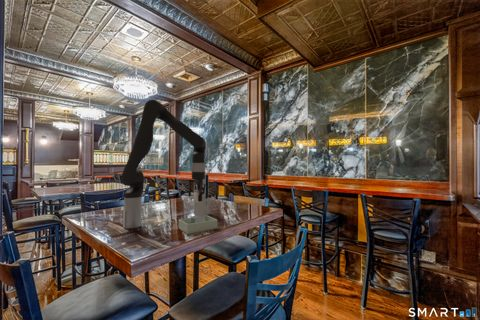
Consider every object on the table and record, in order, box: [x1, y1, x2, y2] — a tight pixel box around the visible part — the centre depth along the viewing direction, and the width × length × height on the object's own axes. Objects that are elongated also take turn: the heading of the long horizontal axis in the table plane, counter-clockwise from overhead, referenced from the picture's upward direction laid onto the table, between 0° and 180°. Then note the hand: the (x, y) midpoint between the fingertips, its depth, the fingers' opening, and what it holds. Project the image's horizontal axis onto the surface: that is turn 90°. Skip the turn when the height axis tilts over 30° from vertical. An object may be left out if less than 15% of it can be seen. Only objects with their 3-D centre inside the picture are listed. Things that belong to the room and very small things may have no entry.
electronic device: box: [193, 173, 210, 216], centre depth 157 cm, size 12×8×30 cm, turn 168°
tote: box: [178, 215, 219, 235], centre depth 124 cm, size 18×13×5 cm
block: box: [190, 215, 205, 224], centre depth 124 cm, size 6×6×6 cm
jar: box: [193, 190, 200, 204], centre depth 124 cm, size 5×5×7 cm
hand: (198, 200), depth 124 cm, fingers closed on jar, 4 cm apart
